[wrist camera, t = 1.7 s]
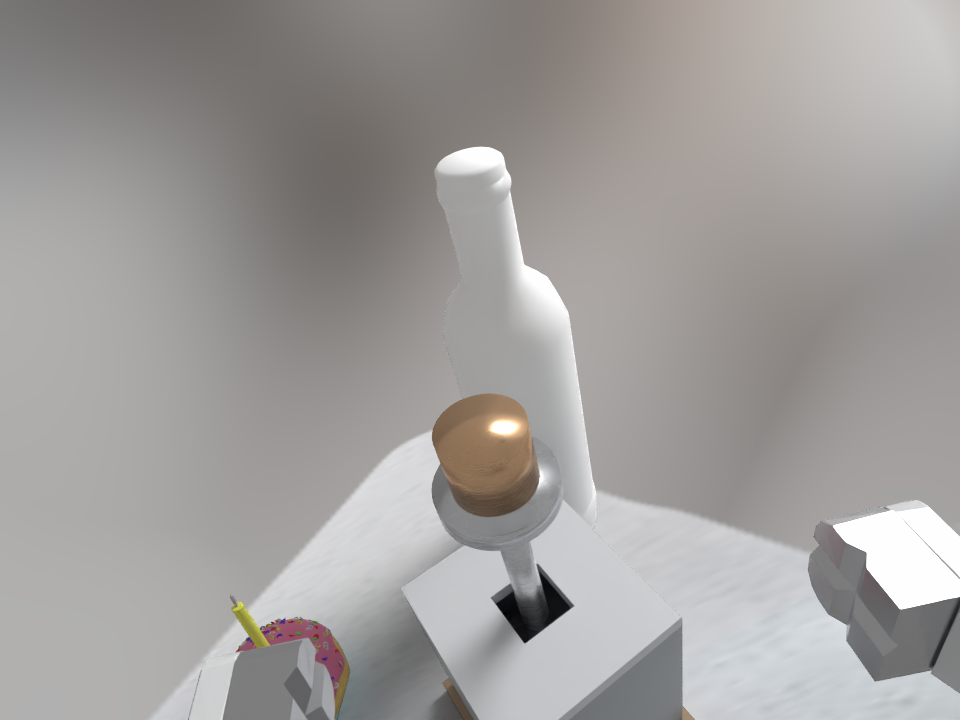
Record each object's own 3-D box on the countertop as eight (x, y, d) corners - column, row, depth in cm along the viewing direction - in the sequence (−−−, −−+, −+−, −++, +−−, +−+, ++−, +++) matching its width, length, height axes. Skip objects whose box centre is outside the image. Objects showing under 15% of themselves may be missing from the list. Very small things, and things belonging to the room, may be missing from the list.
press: (575, 592, 44) (551, 477, 36) (695, 728, 36) (698, 618, 28) (446, 690, 41) (388, 587, 33) (546, 863, 33) (502, 783, 25)
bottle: (481, 531, 50) (360, 186, 31) (535, 464, 54) (457, 125, 35) (564, 578, 45) (480, 205, 27) (617, 501, 49) (576, 132, 31)
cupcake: (252, 671, 45) (167, 583, 37) (365, 636, 45) (302, 542, 37) (240, 808, 38) (132, 734, 30) (372, 766, 38) (297, 683, 31)
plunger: (558, 564, 38) (506, 336, 26) (647, 664, 32) (629, 429, 21) (454, 640, 35) (349, 425, 24) (531, 762, 30) (441, 556, 19)
